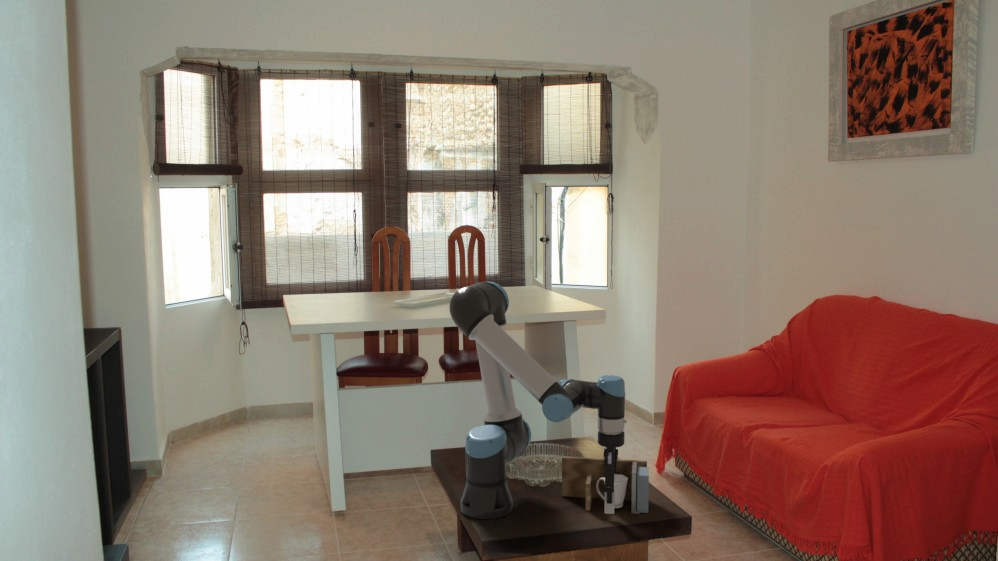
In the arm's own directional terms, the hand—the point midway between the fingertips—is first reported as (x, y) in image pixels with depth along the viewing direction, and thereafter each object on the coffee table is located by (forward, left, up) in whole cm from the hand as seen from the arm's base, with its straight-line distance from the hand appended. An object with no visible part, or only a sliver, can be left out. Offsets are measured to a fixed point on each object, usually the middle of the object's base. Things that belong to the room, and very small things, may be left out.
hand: (610, 505), depth 237 cm
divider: (-6, +3, -2) cm, 8 cm away
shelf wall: (-2, +9, -2) cm, 10 cm away
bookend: (+7, +4, -2) cm, 8 cm away
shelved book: (+9, +4, -2) cm, 10 cm away
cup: (0, +3, -1) cm, 3 cm away
